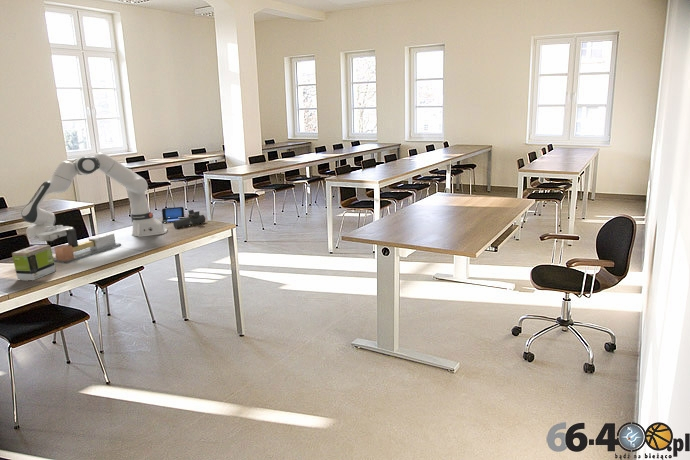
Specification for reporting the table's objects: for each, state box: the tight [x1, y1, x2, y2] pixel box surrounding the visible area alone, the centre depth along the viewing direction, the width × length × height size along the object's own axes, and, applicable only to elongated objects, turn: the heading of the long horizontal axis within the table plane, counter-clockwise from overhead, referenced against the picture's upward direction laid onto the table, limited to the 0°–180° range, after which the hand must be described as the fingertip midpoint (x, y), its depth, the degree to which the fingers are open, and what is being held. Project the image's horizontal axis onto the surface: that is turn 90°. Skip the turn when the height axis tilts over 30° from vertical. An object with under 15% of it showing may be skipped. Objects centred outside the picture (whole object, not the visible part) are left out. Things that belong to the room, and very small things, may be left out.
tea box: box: [11, 244, 57, 281], centre depth 268 cm, size 15×10×15 cm, turn 163°
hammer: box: [66, 228, 95, 253], centre depth 303 cm, size 25×4×13 cm, turn 155°
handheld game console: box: [161, 206, 185, 224], centre depth 387 cm, size 16×13×9 cm
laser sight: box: [172, 209, 206, 229], centre depth 369 cm, size 10×22×10 cm, turn 132°
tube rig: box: [53, 232, 122, 264], centre depth 308 cm, size 38×12×8 cm, turn 155°
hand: (65, 234), depth 300 cm, fingers open, 8 cm apart
